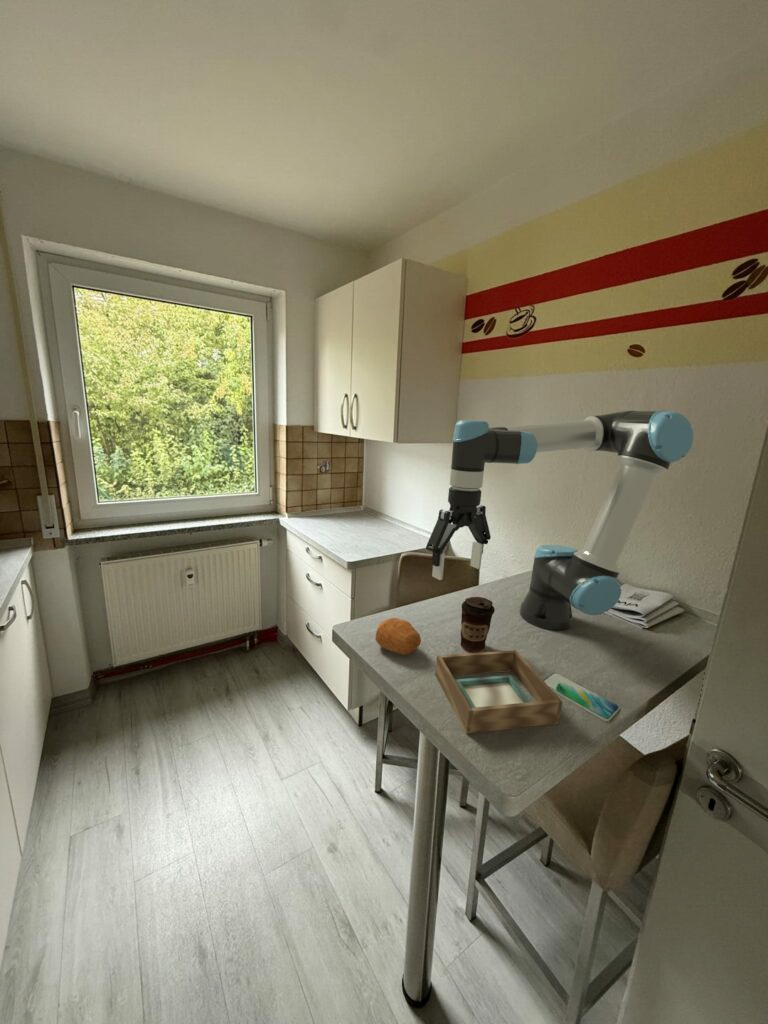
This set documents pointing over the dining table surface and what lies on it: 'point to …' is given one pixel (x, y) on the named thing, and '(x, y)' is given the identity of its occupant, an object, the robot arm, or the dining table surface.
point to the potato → (397, 636)
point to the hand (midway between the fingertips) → (456, 572)
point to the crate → (496, 692)
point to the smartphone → (581, 697)
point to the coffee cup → (475, 623)
